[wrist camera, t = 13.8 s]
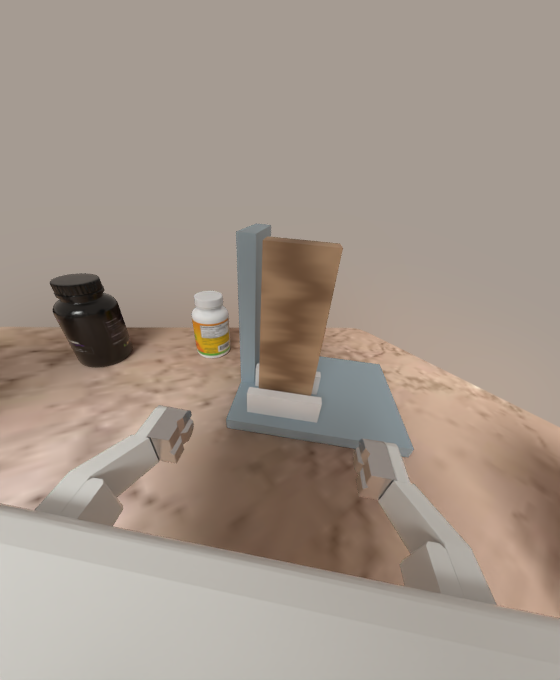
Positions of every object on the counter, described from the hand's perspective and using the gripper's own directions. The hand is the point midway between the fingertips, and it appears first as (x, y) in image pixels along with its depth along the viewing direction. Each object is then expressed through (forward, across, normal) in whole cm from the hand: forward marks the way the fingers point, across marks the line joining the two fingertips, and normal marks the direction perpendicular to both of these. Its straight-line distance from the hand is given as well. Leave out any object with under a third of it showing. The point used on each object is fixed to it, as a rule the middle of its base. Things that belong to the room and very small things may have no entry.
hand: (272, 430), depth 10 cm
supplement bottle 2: (+22, +13, +13) cm, 29 cm away
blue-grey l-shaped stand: (+15, -4, +13) cm, 20 cm away
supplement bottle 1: (+17, +28, +13) cm, 35 cm away
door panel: (+12, 0, +11) cm, 17 cm away
